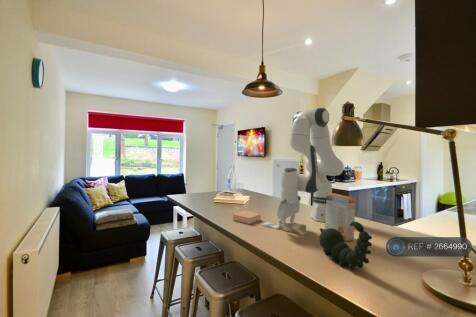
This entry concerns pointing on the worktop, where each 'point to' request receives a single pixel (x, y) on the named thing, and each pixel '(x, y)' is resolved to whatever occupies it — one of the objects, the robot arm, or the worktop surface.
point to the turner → (288, 227)
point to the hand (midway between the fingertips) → (288, 224)
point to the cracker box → (340, 214)
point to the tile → (246, 217)
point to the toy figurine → (346, 246)
